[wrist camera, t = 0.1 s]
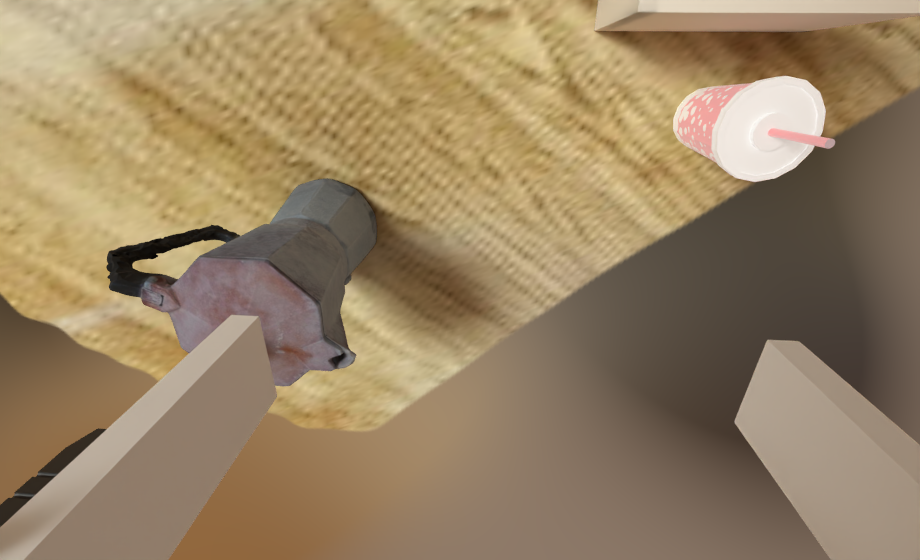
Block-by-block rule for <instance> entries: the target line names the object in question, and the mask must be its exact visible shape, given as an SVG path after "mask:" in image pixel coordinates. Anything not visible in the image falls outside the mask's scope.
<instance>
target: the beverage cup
mask: <svg viewBox="0 0 920 560" xmlns="http://www.w3.org/2000/svg"><path fill="white" fill-rule="evenodd" d="M825 113H826V110H825V106H824V103H823V100H822V97H821V93H820V92H819V91H818V90H817V89H816V88H815V87H813V86H812V85H811V84H810V83H809V82H808V81H807V80H803V79H799V78H794V77H789V76H781V77H773V78H768V79H763V80H759V81H756V82H754V83H748V84H737V85H725V86H714V87H707V88H702V89H698V90H696V91H695V92H693V93H691V94H690V95H688V96H687V97H686V98H685V99H684V100H683V101H682V103H681V104H680V105H679V106H678V108H677V111H676V113H675V116H674V118H673V130H674V133H675V135H676V137H677V139H678V140H679V141H680V142H681V143H683V144H684V145H685V146H687V147H689V148H690V149H692V150H694V151H696V152H698V153H700V154H702V155H703V156H705V157H707V158H709V159H711V160H713V161H714V162H716V163H717V164H718V165H719V166H720V167H721V168H722V169H724V170H725V171H726V172H727V173H729V174H730V175H732V176H734V177H735V178H738V179H743V180H748V181H753V182H758V181H763V180H769V179H775V178H776V177H779V176H780V175H782V174H784V173H786V172H788V171H790V170H792V169H794V168H795V167H796V166H797V165H798V164H799V163H800V162H801V161H803V160H804V159H805V158H806V157H807V156H808V155H809V154H810V153H811V152H812V150H813V148H814V146H818V147H823V148H831V147H833V146H834V144H835V140H834V139H830V138H825V137H820V136H821V134H822V132H823V126H824V120H825Z"/></svg>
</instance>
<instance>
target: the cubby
mask: <svg viewBox="0 0 920 560" xmlns="http://www.w3.org/2000/svg"><path fill="white" fill-rule="evenodd" d="M914 16H920V0H598V6H597V14H596V21H595V29H594V31H688V32H807V31H814V30H821V29H828V28H836V27H843V26H850V25H857V24H864V23H871V22H879V21H886V20H893V19H900V18H907V17H914Z"/></svg>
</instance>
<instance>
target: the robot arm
mask: <svg viewBox="0 0 920 560" xmlns="http://www.w3.org/2000/svg"><path fill="white" fill-rule="evenodd" d="M276 397H277V393H276V388H275V384H274V380H273V375H272V371H271V367H270V362H269V358H268V354H267V349H266V345H265V340H264V336H263V332H262V327H261V323H260V319H259V316H244V315H231V316H229V317H228V318H227V319H226V320H225V321H224V322H223V323H222V324H221V325H220V326H219V327H218V328H216V329H215V330H214V331H213V332H212V333H211V334H210V335H209V336H208V337H207V338H206V339H204V340H203V341H202V342H201V343H200V344H199V345H198V346H197V347H196V348H195V349H194V350H193V351H191V352H190V353H189V354H188V355H187V356H186V357H185V358H184V359H183V360H182V361H181V362H179V363H178V364H177V365H176V366H175V367H174V368H173V369H172V370H171V371H170V372H169V373H168V374H166V375H165V376H164V377H163V378H162V379H161V380H160V381H159V382H158V383H157V384H156V385H154V386H153V387H152V388H151V389H150V390H149V391H148V392H147V393H146V394H145V395H144V396H143V397H142V398H141V399H139V400H138V401H137V402H136V403H135V404H134V405H133V406H132V407H131V408H129V409H128V410H127V411H126V412H125V413H124V414H123V415H122V416H121V417H120V418H119V419H118V420H116V421H115V422H114V423H113V424H112V425H111V426H110V427H109V428H108V429H96V430H95V431H93V432H92V433H90V434H88V435H87V436H85V437H83V438H81V439H80V440H78V441H76V442H75V443H73V444H71V445H70V446H68V447H66V448H65V449H64V450H63V451H61V452H60V453H59V454H58V455H57V456H56V457H55V458H54V459H52V460H51V461H50V462H49V463H48V464H47V465H46V466H45V467H43V468H42V469H41V470H40V471H39V472H38V475H37V476H36V477H32V478H31V479H30V480H28V481H27V482H26V483H25V484H24V485H23V486H22V487H20V488H19V489H18V490H17V491H16V492H15V495H14V496H13V497H12V498H8V499H7V500H5V501H4V502H3V503H2V504H1V505H0V560H168V559H169V558H170V556H171V555H172V553H173V552H174V550H175V549H176V547H177V546H178V544H179V543H180V541H181V540H182V538H183V537H184V535H185V534H186V532H187V531H188V529H189V528H190V526H191V525H192V523H193V521H194V520H195V519H196V517H197V516H198V514H199V513H200V511H201V510H202V508H203V507H204V505H205V504H206V502H207V501H208V499H209V498H210V496H211V495H212V493H213V492H214V490H215V489H216V487H217V486H218V484H219V483H220V481H221V480H222V478H223V477H224V475H225V474H226V472H227V471H228V469H229V468H230V466H231V465H232V463H233V462H234V460H235V459H236V457H237V456H238V454H239V453H240V451H241V450H242V448H243V447H244V445H245V444H246V442H247V441H248V439H249V438H250V436H251V435H252V433H253V432H254V430H255V429H256V427H257V426H258V424H259V423H260V421H261V420H262V418H263V417H264V415H265V414H266V412H267V411H268V409H269V408H270V406H271V405H272V403H273V402H274V400H275V399H276ZM734 423H735V424H736V425H737V427H738V428H739V430H740V431H741V433H742V434H743V435H744V437H745V438H746V440H747V441H748V442H749V444H750V445H751V447H752V448H753V449H754V451H755V452H756V454H757V455H758V457H759V458H760V459H761V461H762V462H763V464H764V465H765V467H766V468H767V469H768V471H769V472H770V474H771V475H772V476H773V478H774V479H775V481H776V482H777V484H778V485H779V486H780V488H781V489H782V491H783V492H784V493H785V495H786V496H787V498H788V499H789V501H790V502H791V503H792V505H793V506H794V508H795V509H796V510H797V512H798V513H799V515H800V516H801V518H802V519H803V520H804V522H805V523H806V525H807V526H808V528H809V529H810V530H811V532H812V533H813V535H814V536H815V538H816V539H817V540H818V542H819V543H820V545H821V546H822V547H823V549H824V550H825V552H826V553H827V554H828V556H829V557H830V559H831V560H920V445H919V444H918V443H917V442H916V441H914V440H913V439H912V438H911V437H910V436H909V435H907V434H906V433H905V432H904V431H903V430H902V429H901V428H899V427H898V426H897V425H896V424H895V423H893V422H892V421H891V420H890V419H889V418H888V417H887V416H885V415H884V414H883V413H882V412H881V411H880V410H878V409H877V408H876V407H875V406H874V405H873V404H871V403H870V402H869V401H868V400H867V399H866V398H864V397H863V396H862V395H861V394H860V393H858V392H857V391H856V390H855V389H854V388H853V387H851V386H850V385H849V384H848V383H847V382H846V381H845V380H843V379H842V378H841V377H840V376H839V375H838V374H836V373H835V372H834V371H833V370H832V369H831V368H830V367H828V366H827V365H826V364H825V363H824V362H823V361H821V360H820V359H819V358H818V357H817V356H816V355H814V354H813V353H812V352H811V351H810V350H809V349H807V348H806V347H805V346H804V345H803V344H802V343H800V342H799V341H782V340H767V342H766V344H765V347H764V349H763V352H762V354H761V357H760V359H759V362H758V364H757V366H756V369H755V372H754V374H753V377H752V379H751V381H750V384H749V387H748V389H747V391H746V394H745V396H744V399H743V402H742V404H741V407H740V409H739V411H738V414H737V417H736V419H735V422H734Z"/></svg>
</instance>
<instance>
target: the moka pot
mask: <svg viewBox="0 0 920 560" xmlns="http://www.w3.org/2000/svg"><path fill="white" fill-rule="evenodd" d="M376 238H377V225H376V217H375V214H374V212H373V210H372V208H371V207H370V205H369V204H368V202H367V201H366V199H365V198H364V197H363V196H362V195H361V194H360V193H359V192H358V191H357V190H356V189H354V188H352V187H350V186H348V185H346V184H343V183H340V182H338V181H335V180H331V179H318V180H314V181H310V182H307V183H304V184H301V185H298V186H297V187H296V188H295V189H294V191H293V192H292V193H291V195H290V196H289V198H288V199H287V200H286V202H285V203H284V205H283V206H282V207H281V208H280V210H279V211H278V213H277V214H276V215H275V217H274V218H273V220H272V221H271V223H270V224H264V225H262V226H260V227H258V228H256V229H254V230H252V231H250V232H248V233H246V234H244V235H242V236H240V235H237V234H236V233H234V232H230V231H228V230H226V229H223V228H222V227H220V226H218V225H216V226H214V225H211V226H209V227H206V228H202V229H195V230H191V231H188V232H185V233H181V234H175V235H171V236H168V237H164V239H161V238H159V239H155V240H151V241H149V242H145V243H139V244H137V245H128V246H126V247H120V248H118V249H116V250H113V251H109V253H108V256H107V262H108V265H107V270H108V271H109V272H111V273H110V275H109V276H108V278H109V279H110V281H111V282H110V285H109V288H110V290H112V291H115V292H119V293H122V294H125V295H129V296H135V297H141V299H142V302H143V304H144V305H146V306H149V307H152V308H154V309H157V310H159V311H161V312H168V313H169V315H170V317H171V320H172V322H173V325H174V328H175V331H176V334H177V337H178V340H179V342H180V345H181V348H182V349H184V350H185V351H186V352H188V353H190V352H191V351H193V350H194V349H195V348H196V347H197V346H198V345H199V344H200V343H201V342H202V341H203V340H204V339H206V338H207V337H208V336H209V335H210V334H211V333H212V332H213V331H214V330H215V329H216V328H218V327H219V326H220V325H221V324H222V323H223V322H224V321H225V320H226V319H227V318H228V317H229V316H231V315H244V316H259V319H260V323H261V327H262V332H263V336H264V340H265V345H266V349H267V354H268V358H269V362H270V367H271V371H272V375H273V380H274V384H275V385H276V386H290V385H291V384H293V383H294V382H295V381H297V380H298V379H299V378H300V377H302V376H303V375H304V374H305V373H307V372H308V371H309V370H321V371H332V370H334V369H339V368H345V367H347V366H349V365H351V364H352V363H353V362H354V360H355V357H356V354H355V353H353V352H352V351H351V350H350V349H349V347H348V344H347V339H346V335H345V330H344V326H343V322H342V318H341V314H340V309H341V305H342V301H343V297H344V294H345V285H346V284H348V283H349V281H350V280H351V273H352V272H353V270H354V269H355V268H356V267H357V266H358V265H359V264H360V263H361V262H362V260H363V259H364V258H365V257H366V255H367V254H368V253H369V252H370V250H371V249H372V248H373V247H374V245H375V243H376ZM201 240H204V241H207V240H221V241H224V242H226V243H225V244H224V245H222V246H220V247H217V248H215V249H213V250H211V251H209V252H207V253H205V254H203V255H201V256H199V257H198V258H197V259H196V260H195V261H194V262H193V263H192V265H191V266H190V267H189V268H188V270H187V271H186V272H185V273H184V274H183V275H182V276H181V278H179V279H175V278H172V277H170V276H167V275H162V274H151V273H144V272H139V271H137V270H135V269H133V267H132V264H133V262H135V261H138V260H142V259H148V258H149V259H154V258H156V257H158V255H156V254H157V253H165V252H167V251H169V250H171V249H174V248H178V247H182V246H185V245H189V244H191V243H193V242H198V241H201Z"/></svg>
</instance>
